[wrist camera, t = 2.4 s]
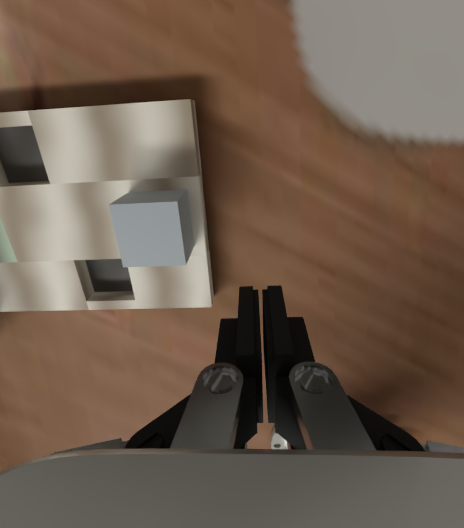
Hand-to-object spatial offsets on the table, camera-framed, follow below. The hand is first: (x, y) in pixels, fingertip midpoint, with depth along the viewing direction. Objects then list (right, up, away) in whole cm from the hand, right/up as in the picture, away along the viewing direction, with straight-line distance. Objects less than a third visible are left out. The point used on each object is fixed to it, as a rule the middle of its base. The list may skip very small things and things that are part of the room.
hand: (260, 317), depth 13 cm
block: (-7, +6, +14) cm, 17 cm away
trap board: (-15, +7, +16) cm, 23 cm away
